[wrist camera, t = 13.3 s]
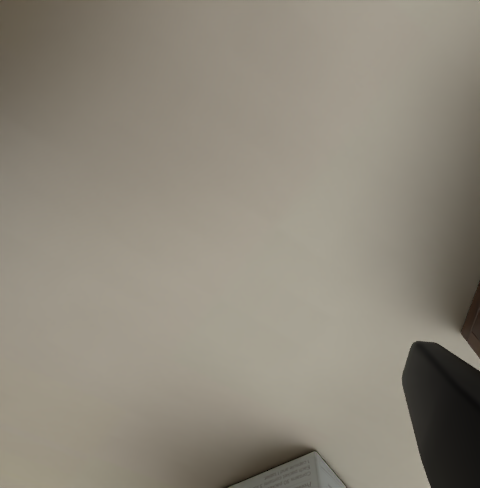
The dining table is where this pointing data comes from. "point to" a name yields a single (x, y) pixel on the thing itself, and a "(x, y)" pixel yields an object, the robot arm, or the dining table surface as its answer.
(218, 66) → the dining table surface
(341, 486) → the supplement box
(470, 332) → the tea box
